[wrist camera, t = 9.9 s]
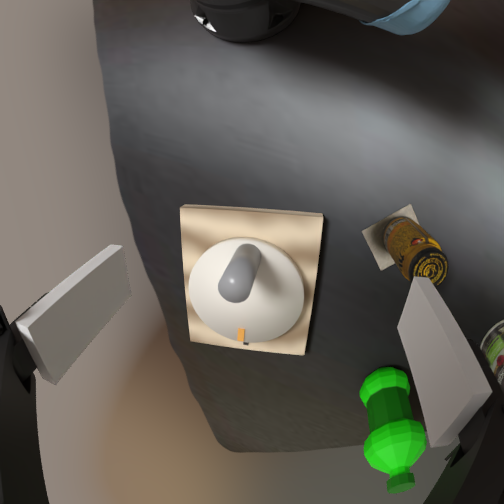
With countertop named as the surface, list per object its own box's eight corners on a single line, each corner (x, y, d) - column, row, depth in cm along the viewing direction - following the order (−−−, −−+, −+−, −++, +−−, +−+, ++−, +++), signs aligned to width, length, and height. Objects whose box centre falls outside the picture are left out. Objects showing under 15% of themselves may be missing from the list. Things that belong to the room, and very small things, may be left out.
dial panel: (184, 204, 44) (179, 208, 42) (322, 213, 41) (323, 218, 39) (194, 334, 53) (190, 341, 51) (304, 347, 50) (303, 356, 48)
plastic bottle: (377, 351, 48) (401, 471, 26) (416, 366, 49) (447, 473, 26) (346, 384, 52) (352, 498, 30) (385, 397, 53) (401, 500, 30)
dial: (193, 324, 49) (169, 368, 39) (193, 229, 42) (160, 260, 32) (293, 342, 47) (289, 391, 37) (313, 245, 41) (315, 284, 31)
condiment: (426, 244, 40) (460, 281, 29) (380, 270, 43) (401, 314, 32) (410, 203, 38) (444, 229, 27) (361, 230, 41) (380, 265, 30)
